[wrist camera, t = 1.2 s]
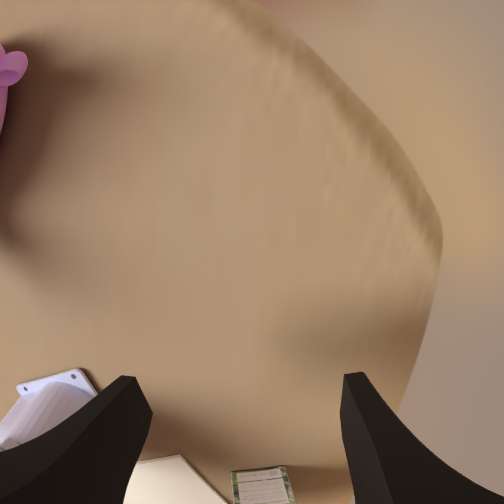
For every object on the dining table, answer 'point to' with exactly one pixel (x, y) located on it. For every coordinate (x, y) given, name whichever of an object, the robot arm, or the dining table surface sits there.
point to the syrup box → (262, 486)
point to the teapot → (9, 75)
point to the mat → (169, 483)
